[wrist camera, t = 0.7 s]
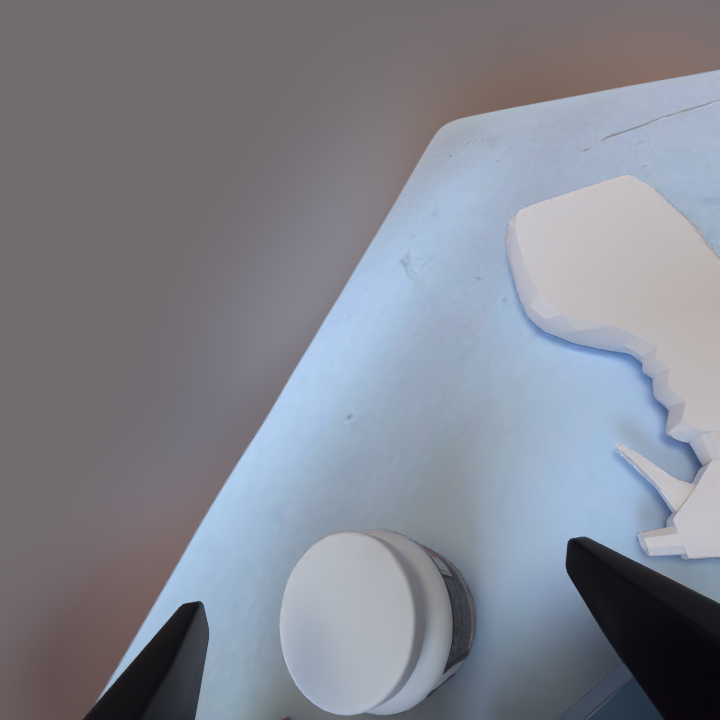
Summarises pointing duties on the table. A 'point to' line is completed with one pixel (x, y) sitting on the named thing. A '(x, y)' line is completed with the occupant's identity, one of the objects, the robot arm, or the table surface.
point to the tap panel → (614, 700)
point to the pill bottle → (374, 622)
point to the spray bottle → (636, 324)
